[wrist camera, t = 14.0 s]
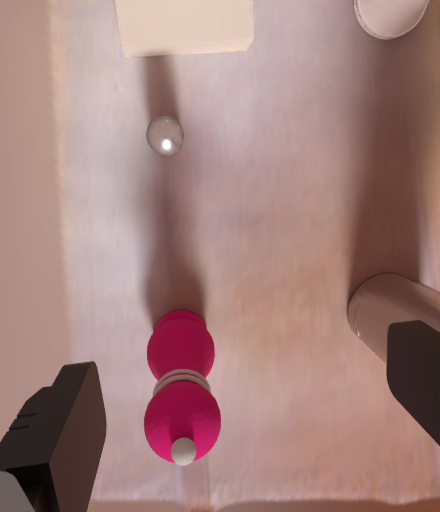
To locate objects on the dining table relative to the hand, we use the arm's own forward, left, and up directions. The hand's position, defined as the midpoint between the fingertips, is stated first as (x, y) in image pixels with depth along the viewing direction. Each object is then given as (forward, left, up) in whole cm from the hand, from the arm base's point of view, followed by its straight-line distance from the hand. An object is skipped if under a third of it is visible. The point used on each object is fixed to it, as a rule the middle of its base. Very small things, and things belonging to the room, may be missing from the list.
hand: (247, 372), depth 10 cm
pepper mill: (+3, +14, -33) cm, 36 cm away
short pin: (+2, -8, -33) cm, 34 cm away
